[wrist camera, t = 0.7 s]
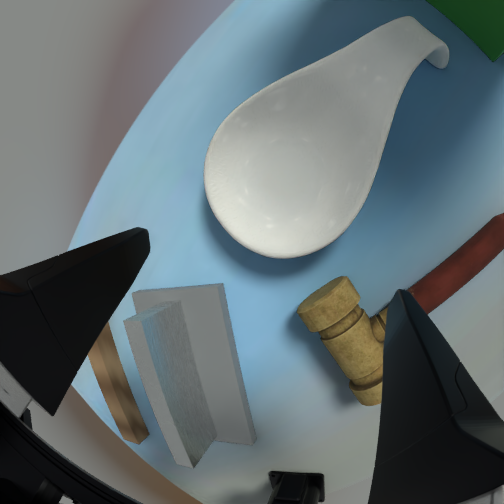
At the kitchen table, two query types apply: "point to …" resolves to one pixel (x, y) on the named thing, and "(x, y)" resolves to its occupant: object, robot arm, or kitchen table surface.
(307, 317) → the gavel
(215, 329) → the board
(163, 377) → the steel ridge
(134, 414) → the walnut batten
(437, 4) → the hardback book
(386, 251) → the kitchen table surface
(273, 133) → the spoon rest
